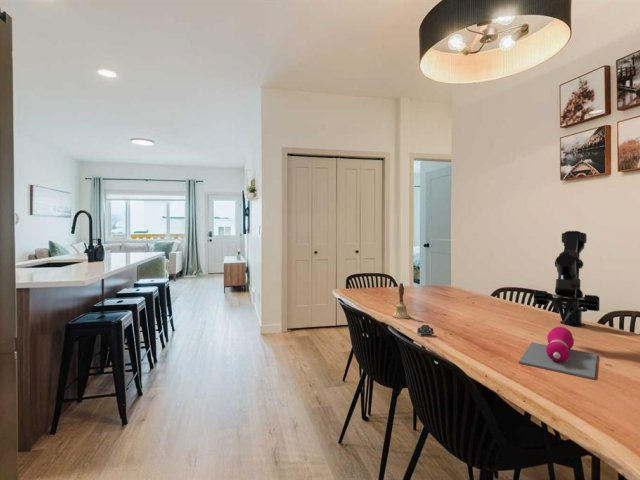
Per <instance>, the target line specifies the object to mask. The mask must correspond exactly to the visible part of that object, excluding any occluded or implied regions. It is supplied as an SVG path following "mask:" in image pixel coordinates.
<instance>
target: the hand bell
mask: <svg viewBox="0 0 640 480" xmlns="http://www.w3.org/2000/svg"><path fill="white" fill-rule="evenodd" d="M404 294H405V286H404V283H403V282H400V283H399V286H398V295H399V303H398V304H396V307H395V311H394V313H393V314H392V315H393V316H394V317H393V316H392V317H393V318H395V317H396V318H395V319H400V318H406V319H409V317H410V318H411V315H410V314H409V313H408V310H407V305H406V304H404Z"/></svg>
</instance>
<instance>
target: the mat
mask: <svg viewBox="0 0 640 480" xmlns="http://www.w3.org/2000/svg"><path fill="white" fill-rule="evenodd" d="M547 345H548V344H542V343H537V342H533V341H531V343H530V344H529V346H528V348H526V350H525V352H524V353H523V355H522V357H521V358H520V359H519V361H518V364H521V365H526V366H530V367H535V368H538V369H545V370H548V371H551V372H552V371H553V372H558V373H562V374H566V375H567V374H568V375H571V376H577V377H580V378H581V377H582V378H584V379H590V380H595V379H596V378H595V377H596V368H597V359H598V353H595V352H589V351H583V350H577V349H572V348H571V349H569V351H570V356H569V358H568V359H567V360H566V361H563V362H557V361H554V360H552V359H550V358H549V356H548V355H547V353H546V347H547Z"/></svg>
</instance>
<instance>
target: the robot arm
mask: <svg viewBox="0 0 640 480" xmlns="http://www.w3.org/2000/svg"><path fill="white" fill-rule="evenodd" d="M587 240H588V239H587V233H586V232H581V231H579V230H566V231H565V232H562V233H561V243H562V244H563V247H564V248H563V251H561V252H560V253H559V254H558V256H557V257H556V258H555V261H554V267H555V268H556V272H557V274H558V276H557V278H556V279H555V289H554V293H555V294H554V293H553V294H552V295H549V294H548V291H547V290H539V289H535V291H533V294H532V296H533V299H534V300H533V301H534V304H535V305H540V306H547V305H548V304H549V302H551V304H552V308H553V309H556V310H557V312H558V313H559V316H560V318H561V319H560V320H561V321H559V323H560V324H564V325H568V326H572V327H580V326H581V327H582V326H586V323H583V322H582V321H583V320H582V315H583V314H582V312H583V313H585V312H588V311H591V312H600V306H601V305H600V296H598V295H594V294H584V293H583V291H582V290H581V279H580V270H582V269H583V268H584V262H583V260H582V259H580V256H581V255H580V254H581V253H582V251H583V250H584V249H585V244H587Z"/></svg>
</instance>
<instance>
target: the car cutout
mask: <svg viewBox="0 0 640 480" xmlns="http://www.w3.org/2000/svg"><path fill="white" fill-rule="evenodd" d="M443 333H444V334H443V335H447V334H446V333H447V332H443ZM416 334H417V335H418V336H433V335H435V332H434V328H433V327H430V325H429V324H423V325H421V326H420V327H418V328H417V332H416ZM449 334H450V336H451V335H452V334H453V333H449ZM452 336H453V335H452Z"/></svg>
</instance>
